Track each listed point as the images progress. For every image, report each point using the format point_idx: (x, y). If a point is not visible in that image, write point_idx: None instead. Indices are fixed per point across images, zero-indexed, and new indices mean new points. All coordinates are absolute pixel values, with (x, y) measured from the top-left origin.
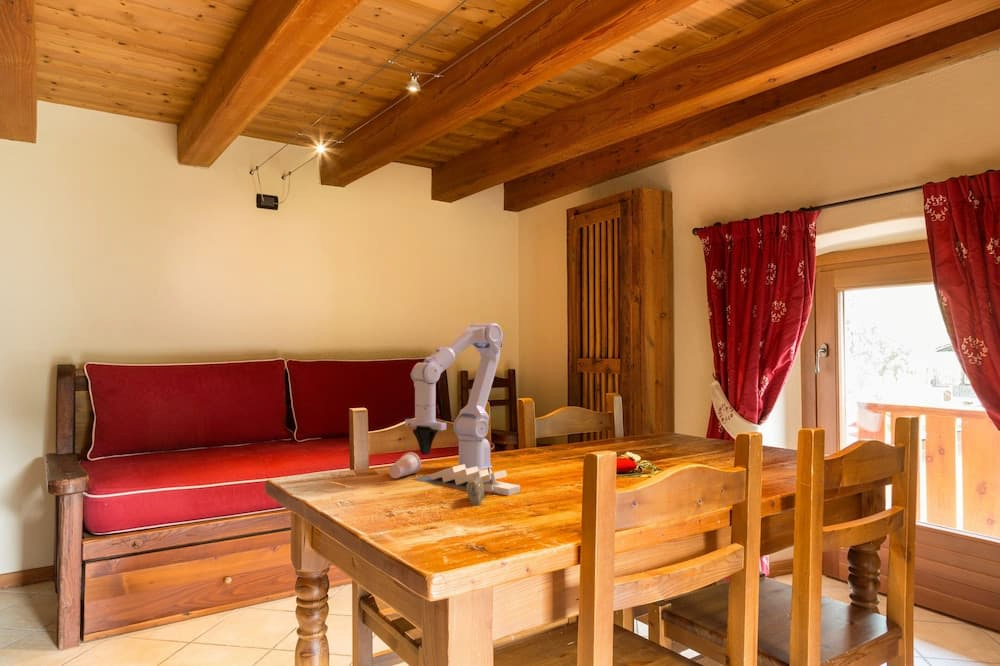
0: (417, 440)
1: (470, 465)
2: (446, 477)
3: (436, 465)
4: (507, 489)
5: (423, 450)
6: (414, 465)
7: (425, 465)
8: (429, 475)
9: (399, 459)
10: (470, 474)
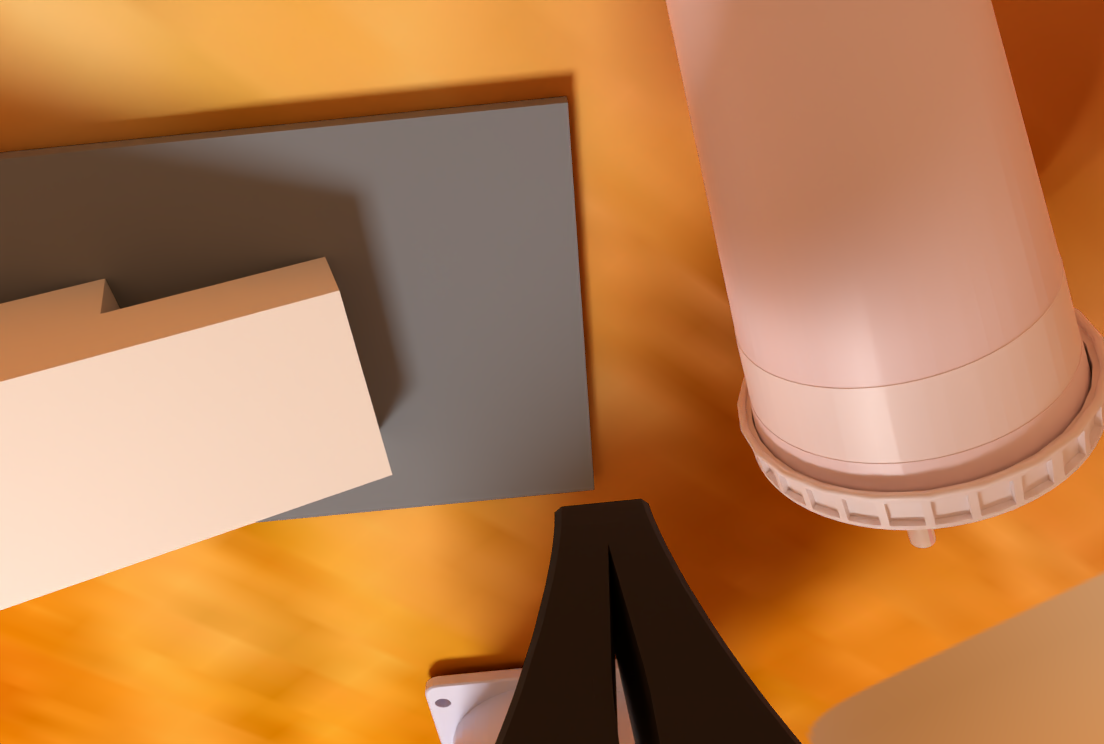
0: (766, 718)
1: (478, 739)
2: (9, 323)
3: (900, 651)
4: None
5: (562, 559)
6: (739, 337)
7: (993, 605)
8: (575, 387)
9: (993, 204)
10: None
